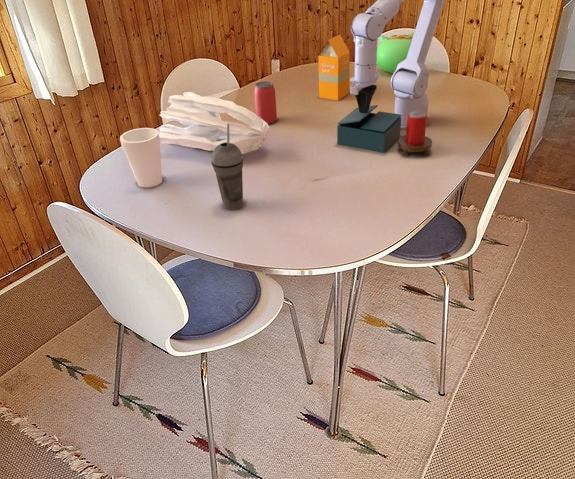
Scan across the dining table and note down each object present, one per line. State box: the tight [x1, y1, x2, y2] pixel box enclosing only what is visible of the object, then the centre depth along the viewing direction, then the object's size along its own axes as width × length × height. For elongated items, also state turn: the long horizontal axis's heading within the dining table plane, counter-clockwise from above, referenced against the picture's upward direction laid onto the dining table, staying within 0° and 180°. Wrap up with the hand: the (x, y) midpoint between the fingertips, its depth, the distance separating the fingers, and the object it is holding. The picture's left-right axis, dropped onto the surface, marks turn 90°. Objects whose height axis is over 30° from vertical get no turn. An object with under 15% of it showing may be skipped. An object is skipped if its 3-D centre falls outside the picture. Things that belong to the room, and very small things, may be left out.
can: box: [405, 111, 428, 145], centre depth 131 cm, size 5×5×8 cm
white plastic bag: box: [158, 91, 270, 155], centre depth 140 cm, size 17×18×35 cm
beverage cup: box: [210, 124, 244, 211], centre depth 112 cm, size 7×7×20 cm
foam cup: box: [119, 127, 163, 189], centre depth 126 cm, size 10×9×13 cm
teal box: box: [336, 110, 402, 154], centre depth 141 cm, size 14×13×7 cm
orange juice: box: [317, 33, 351, 102], centre depth 171 cm, size 8×9×20 cm
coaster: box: [397, 134, 433, 156], centre depth 135 cm, size 9×9×4 cm
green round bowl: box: [376, 31, 415, 74], centre depth 191 cm, size 18×17×15 cm
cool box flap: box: [337, 104, 379, 125], centre depth 141 cm, size 7×13×1 cm, turn 149°
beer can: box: [253, 80, 278, 125], centre depth 157 cm, size 7×7×12 cm
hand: (363, 112), depth 139 cm, fingers closed
